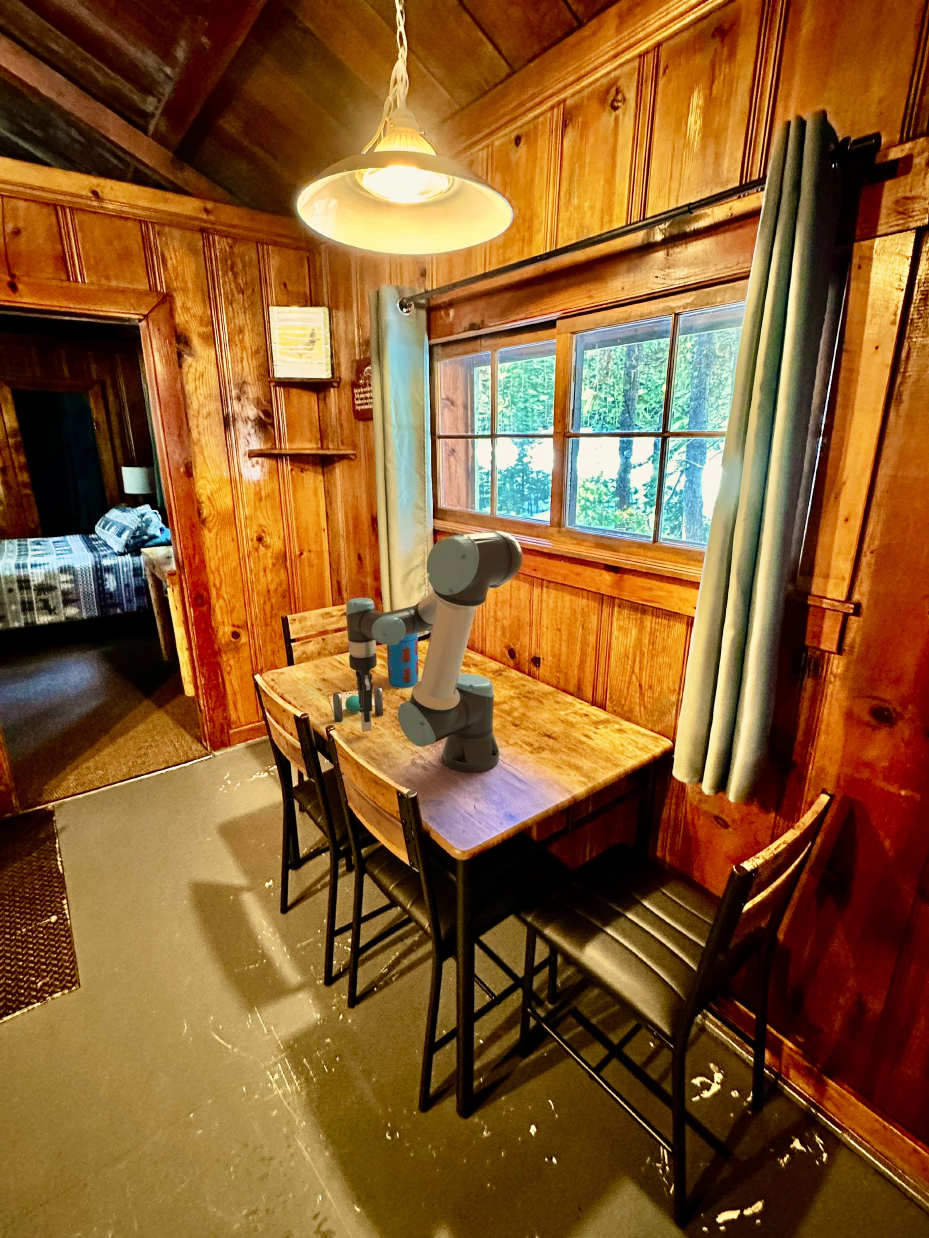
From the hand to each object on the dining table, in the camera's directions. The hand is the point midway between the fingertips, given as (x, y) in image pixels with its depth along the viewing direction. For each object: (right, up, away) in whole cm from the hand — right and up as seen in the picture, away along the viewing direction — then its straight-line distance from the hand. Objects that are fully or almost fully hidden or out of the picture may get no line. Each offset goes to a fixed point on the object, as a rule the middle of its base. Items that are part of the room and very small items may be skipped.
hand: (366, 730), depth 166 cm
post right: (+1, +2, +14) cm, 15 cm away
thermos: (+6, +9, +40) cm, 41 cm away
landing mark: (-9, +5, +25) cm, 27 cm away
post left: (-10, +1, +10) cm, 15 cm away
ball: (-7, +5, +15) cm, 18 cm away
